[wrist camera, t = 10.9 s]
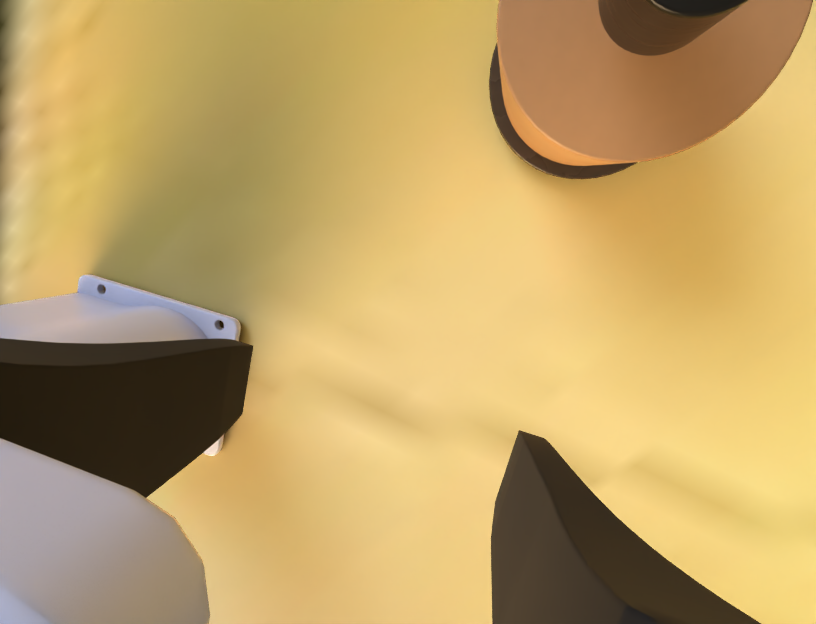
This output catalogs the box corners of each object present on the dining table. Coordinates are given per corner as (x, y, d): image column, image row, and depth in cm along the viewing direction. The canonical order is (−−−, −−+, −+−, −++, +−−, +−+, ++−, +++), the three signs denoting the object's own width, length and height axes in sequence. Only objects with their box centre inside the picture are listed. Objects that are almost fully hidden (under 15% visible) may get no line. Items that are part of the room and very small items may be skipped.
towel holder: (521, -53, 17) (541, -474, 6) (733, -18, 16) (1242, -450, 5) (469, 156, 19) (414, 137, 8) (648, 197, 18) (853, 237, 7)
